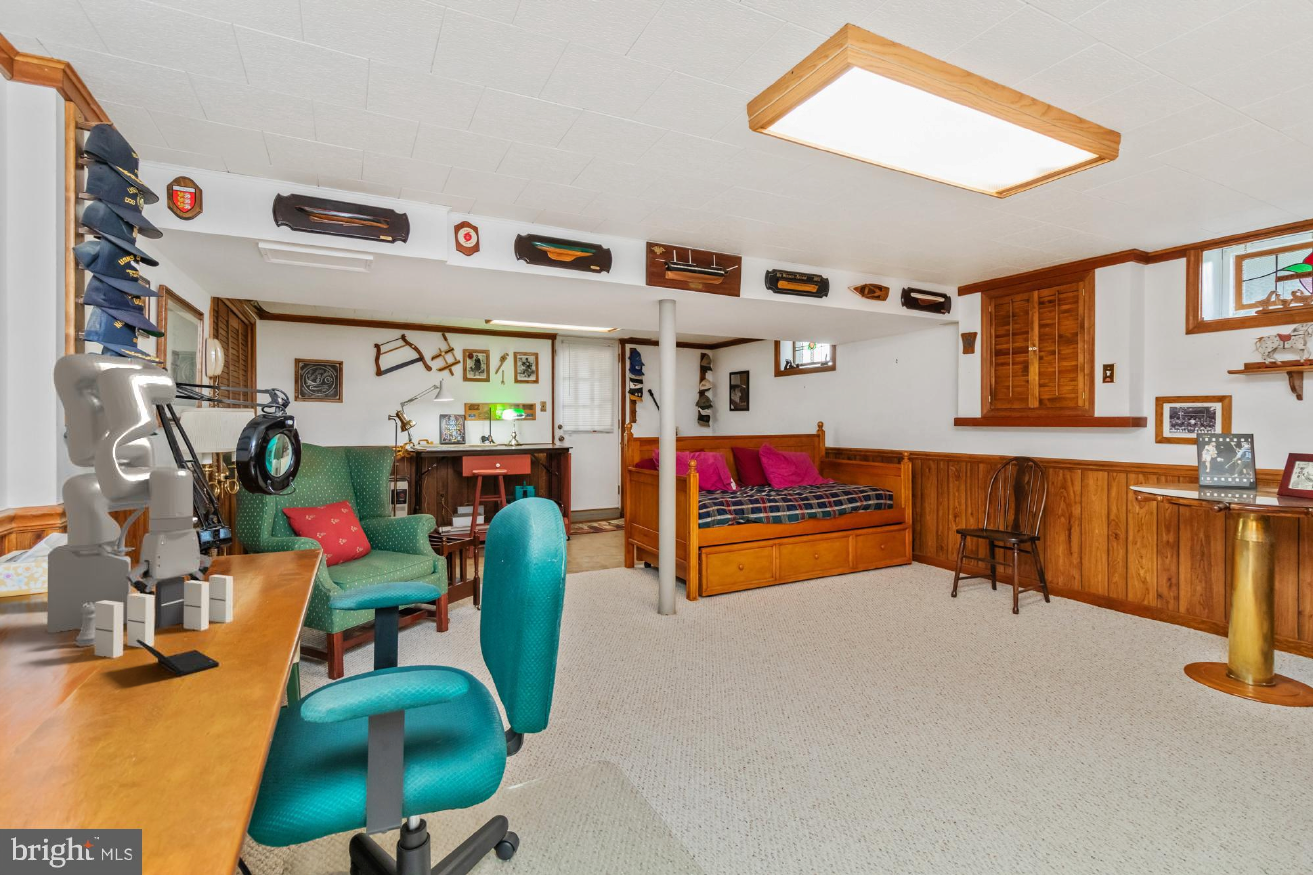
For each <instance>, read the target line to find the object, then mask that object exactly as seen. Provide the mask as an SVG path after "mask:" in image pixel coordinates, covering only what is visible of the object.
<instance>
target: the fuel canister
mask: <svg viewBox="0 0 1313 875" xmlns="http://www.w3.org/2000/svg"><path fill="white" fill-rule="evenodd" d="M145 511H146V507H145V508H142V507H141V508H139V509H137V510H136V511H135V512H134V513H133V514H132V515H130V516H129V517H128V518H127V520H126V521H125V522H124V523H123V526H122V529H121V533H120V536H119V538H117V539H116V540H115V541H110V542H104V543H100V544H87V545H73V546H72V545H59V546H55V547H54V548H53V549H52V550H51V551H50V552H49V553H48V554H47V608H46V609H47V613H46V615H47V618H46V619H47V620H46V621H47V626H46V627H47V628H46V629H47V630H46V631H47V632H48V633H51V634H55V633H61V632H60V631H63V632H69V631H68V630H71V629H78V630H81V628H82V624H83V619H82V616H83V613H82V612H81V611H80V609H81V608H82V607H83V604H85V603H87V605H89V602H93V604H95V602H99V601H103V600H107V601H114V602H122V603H123V624H127V595H129V594H131V585H130V582H129V581H128V579H127V578H126V576H125V575H126V574H127V573H128V572H129V571H131V570H132V569H131V567H132V566H131V564H132V562H131V561H132V560H131V558H130V556H127V555H126V553H127V552H130V551H132V550H135V549H136V547H125V542H126V535H127V534H128V531H129V528H130V526H131V525H132V523H134V522H135V521H136V520H137V519H138V517H139V516H140V515H141V514H143V512H145ZM118 539H119V540H118ZM117 541H118V544H116V543H117ZM105 543H107V544H105ZM101 544H103V545H106V546H109V547H111V548H112V549H111V552H108V551H107V550H106V549H105V548H104V547H103V546H102V545H101ZM114 547H117V549H114ZM91 550H97V551H98V552H99V553H82V554H81V553H80V552H79V551H91ZM71 631H72V630H71Z"/></svg>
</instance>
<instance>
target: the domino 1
mask: <svg viewBox="0 0 1313 875" xmlns="http://www.w3.org/2000/svg"><path fill="white" fill-rule="evenodd" d="M94 655H95V656H97V657H98V656H99V657H100V656H101V657H104V656H106V658H109V657H110V659H115V658H119V657H121V656H123V655H124V623H123V603H122V602H114V601H107V600H103V601H99V602H95V646H94Z"/></svg>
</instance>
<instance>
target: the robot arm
mask: <svg viewBox="0 0 1313 875" xmlns="http://www.w3.org/2000/svg"><path fill="white" fill-rule="evenodd" d="M53 382H54V383H53V384H54V387H55V391H56V393H57V396H58V398H59V400H60V402H61V404H62V407H63V409H64V415H65V416H64V417H65V428H66V429H65V430H66V431H65V432H66V443H67V453H68V458H69V461H70V462H71V463H72V464H73V465H74V466H76V467H81V468H93V469H94V472H89V473H88V472H87V473H82V474H77V475H74V476H71V477H70V478H69V479H67V480H66V481H65V482H64V484H63V485H62V489H61V496H62V501H63V505H64V509H65V510H64V511H65V515H66V525H67V529H66V530H67V531H66V532H67V537H66V538H67V540H66V542H67V543H66V544H67V545H72V546H73V545H87V544H100V543H104V542H110V541H115V540H116V539H117V538H119V536H120V533H121V531H122V529H121V527H120V525H119V523H118V522H117V521H116V520H115V519H114V518H113V517H111V515H110V514H109V513H110V512H115V511H127V510H136V509H137V510H138V509H139V508H141V507H142V508H145V509H146V508H147V507H148V533H145V534H144V536H143V540H142V542H141V546H140V553H139V554H140V555H139V561H138V562H139V564H138V565H137V566H135V567H134V568H132V569H131V571H129V572H128V573H127V574H126V575H125V576H126V578H127V579H128V581H129V582H130V587H132V588H134V589H136V591H137V592H139V593H141V594H148V595H154V610H155V591H154V590H153V589H154V588H155V585H156V583H157V582H158V581H161V580H166V579H170V578H175V577H185V576H187V577H188V578H189V579H188V580H187V581H190V580H194V581H202V580H204V579H205V576H206V574H207V573H208V571H210V570H209V569H210V566H211V564H212V562H213V557H211V556H208V555H204V554H201V553H200V550H201V549H200V544H199V538H198V534H197V531H196V529H195V528H194V524H196V523H197V522H198V518H197V517H196V516H194V477H193V476H194V475H193V472H192V471H191V470H189V469H188V468H176V467H171V466H156V457H155V456H156V455H155V447H154V443H153V441H152V438H151V435H152V434H154V433H155V432H156V431H157V429H158V428H159V421H158V419H157V416H156V412H155V410H154V409H155V408H154V407H153V405H160V406H161V405H168V404H170V403H172V402H174V400H175V398H176V396H177V385H176V382H175V380H174V377H173V376H172V375H171V373H169V372H168V371H166V370H165V369H164V368H162V367H160V366H158V365H156V364H154V363H152V362H150V361H148V360H146V359H145V360H144V359H142V358H136V357H135V358H134V357H123V356H113V355H106V354H105V355H104V354H93V353H72V354H66V355H62V356H61V357H60V358H59V359H57V360H56V362H55V365H54V368H53ZM96 391H98V392H96ZM118 540H119V539H118ZM105 544H107V543H105ZM116 544H118V541H117V543H116ZM67 545H66V546H67ZM101 545H102V546H103V547H104V548H105V549H106V550H107V551H108V552H111V549H112V548H111V547H109V546H106V545H103V544H101ZM114 549H117V547H114ZM79 552H80V553H81V554H82V553H99V552H98V551H97V550H91V551H79Z"/></svg>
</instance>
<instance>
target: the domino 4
mask: <svg viewBox="0 0 1313 875" xmlns="http://www.w3.org/2000/svg"><path fill="white" fill-rule="evenodd" d="M189 580H190V581H188V580H185V582H184V622H183V629H187V630H193V629H194V630H195V631H199V632H200V631H204V630H208V629H209V627H210V625H209V624H210V623H209V622H210V621H209V581H202V580H201V581H194V580H191V579H189Z"/></svg>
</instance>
